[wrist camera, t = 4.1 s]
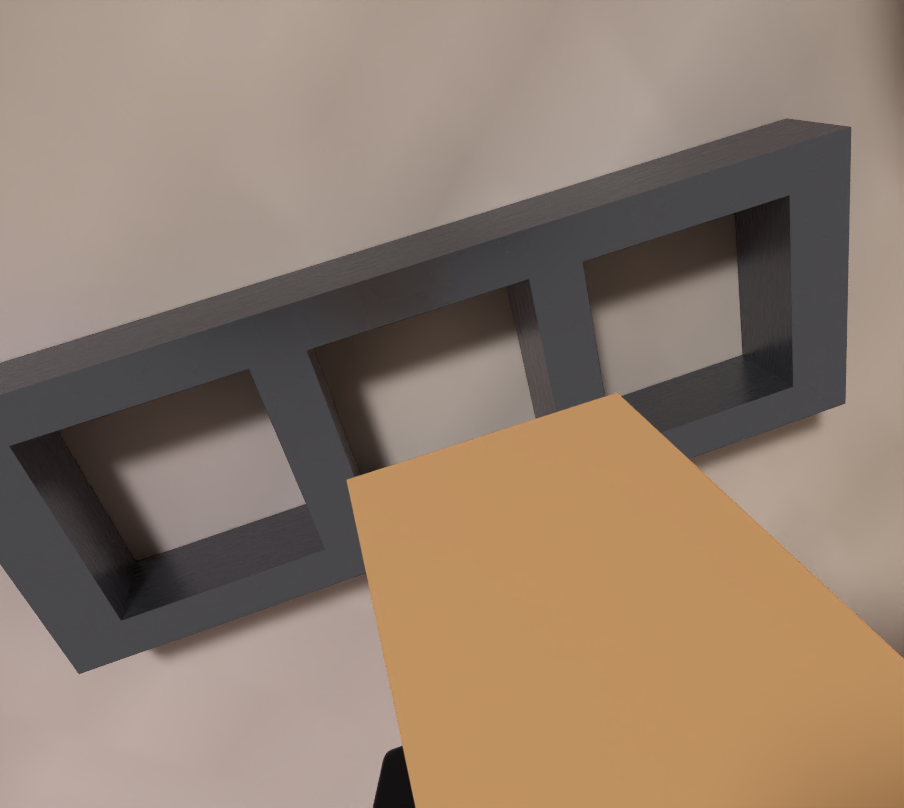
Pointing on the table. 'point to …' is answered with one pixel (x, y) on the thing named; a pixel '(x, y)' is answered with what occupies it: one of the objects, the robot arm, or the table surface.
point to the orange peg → (614, 632)
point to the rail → (393, 299)
